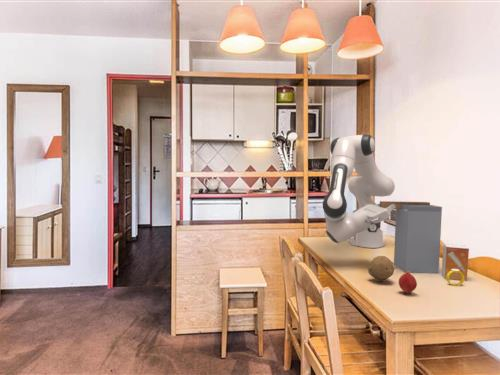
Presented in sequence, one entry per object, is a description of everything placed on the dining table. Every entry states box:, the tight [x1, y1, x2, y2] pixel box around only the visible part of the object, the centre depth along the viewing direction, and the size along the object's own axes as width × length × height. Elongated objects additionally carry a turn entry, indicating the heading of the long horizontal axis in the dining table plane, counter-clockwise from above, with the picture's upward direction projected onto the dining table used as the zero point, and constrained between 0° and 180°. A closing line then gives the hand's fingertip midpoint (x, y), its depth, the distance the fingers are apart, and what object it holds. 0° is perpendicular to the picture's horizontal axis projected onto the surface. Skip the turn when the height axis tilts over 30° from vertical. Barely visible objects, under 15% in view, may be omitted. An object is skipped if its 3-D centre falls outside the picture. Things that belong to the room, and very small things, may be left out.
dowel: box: [379, 200, 431, 210], centre depth 161 cm, size 3×21×3 cm, turn 92°
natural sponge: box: [367, 255, 395, 282], centre depth 141 cm, size 9×9×10 cm
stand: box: [393, 204, 443, 274], centre depth 159 cm, size 12×14×28 cm
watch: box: [446, 269, 464, 286], centre depth 139 cm, size 6×3×6 cm, turn 87°
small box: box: [441, 243, 470, 282], centre depth 148 cm, size 8×6×13 cm
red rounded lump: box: [398, 271, 418, 294], centre depth 129 cm, size 6×6×8 cm
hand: (389, 204), depth 161 cm, fingers open, 8 cm apart
